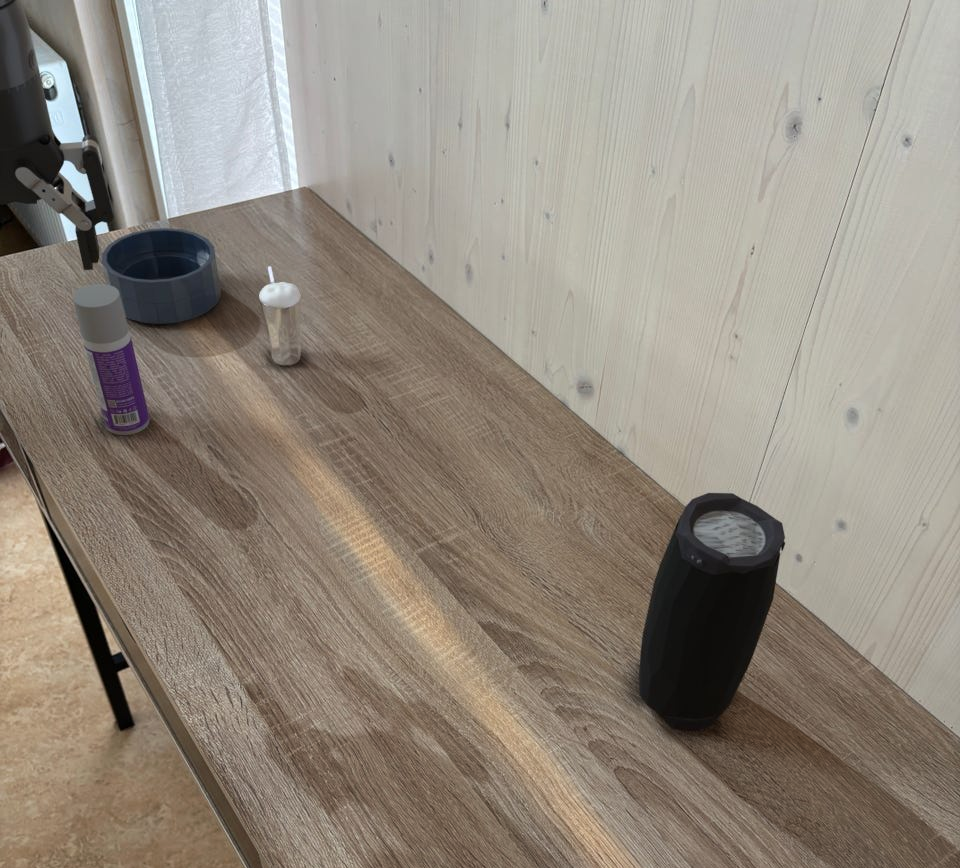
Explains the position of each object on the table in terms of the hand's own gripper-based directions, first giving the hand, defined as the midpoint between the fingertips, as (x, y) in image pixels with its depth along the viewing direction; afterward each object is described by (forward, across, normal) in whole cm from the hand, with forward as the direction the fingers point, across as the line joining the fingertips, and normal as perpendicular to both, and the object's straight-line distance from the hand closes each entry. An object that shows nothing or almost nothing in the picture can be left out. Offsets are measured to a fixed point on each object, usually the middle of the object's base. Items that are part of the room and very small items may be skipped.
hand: (34, 267), depth 87 cm
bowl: (+27, -9, -35) cm, 45 cm away
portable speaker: (+20, -50, +38) cm, 65 cm away
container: (+25, -4, -10) cm, 27 cm away
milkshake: (+25, -22, -20) cm, 39 cm away
